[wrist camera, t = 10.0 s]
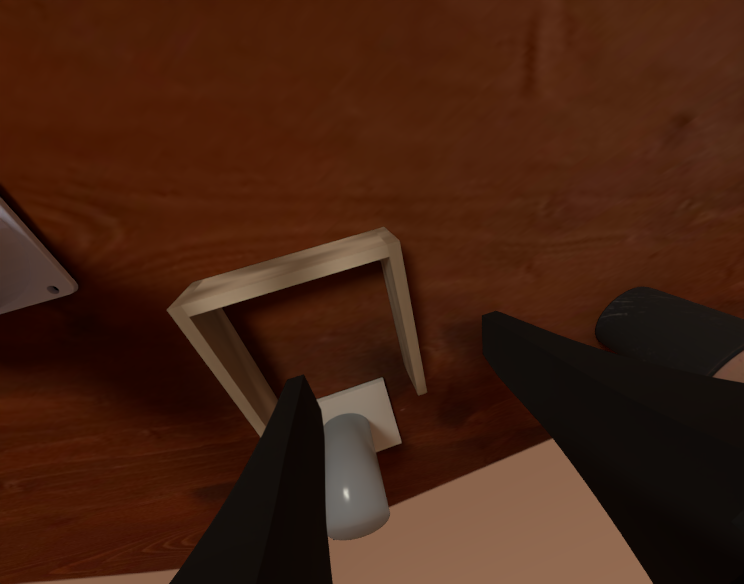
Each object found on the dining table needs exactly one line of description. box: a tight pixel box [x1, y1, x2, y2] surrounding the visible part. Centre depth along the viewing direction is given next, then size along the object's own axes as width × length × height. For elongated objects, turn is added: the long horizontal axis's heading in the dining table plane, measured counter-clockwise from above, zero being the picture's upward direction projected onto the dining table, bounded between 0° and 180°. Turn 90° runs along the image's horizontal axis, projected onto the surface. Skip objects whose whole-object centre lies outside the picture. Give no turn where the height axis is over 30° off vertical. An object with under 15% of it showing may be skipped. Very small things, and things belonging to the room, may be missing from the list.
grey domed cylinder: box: [324, 413, 390, 540], centre depth 23 cm, size 7×5×8 cm
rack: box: [167, 227, 427, 437], centre depth 19 cm, size 13×13×4 cm
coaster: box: [317, 377, 402, 452], centre depth 26 cm, size 10×10×1 cm
